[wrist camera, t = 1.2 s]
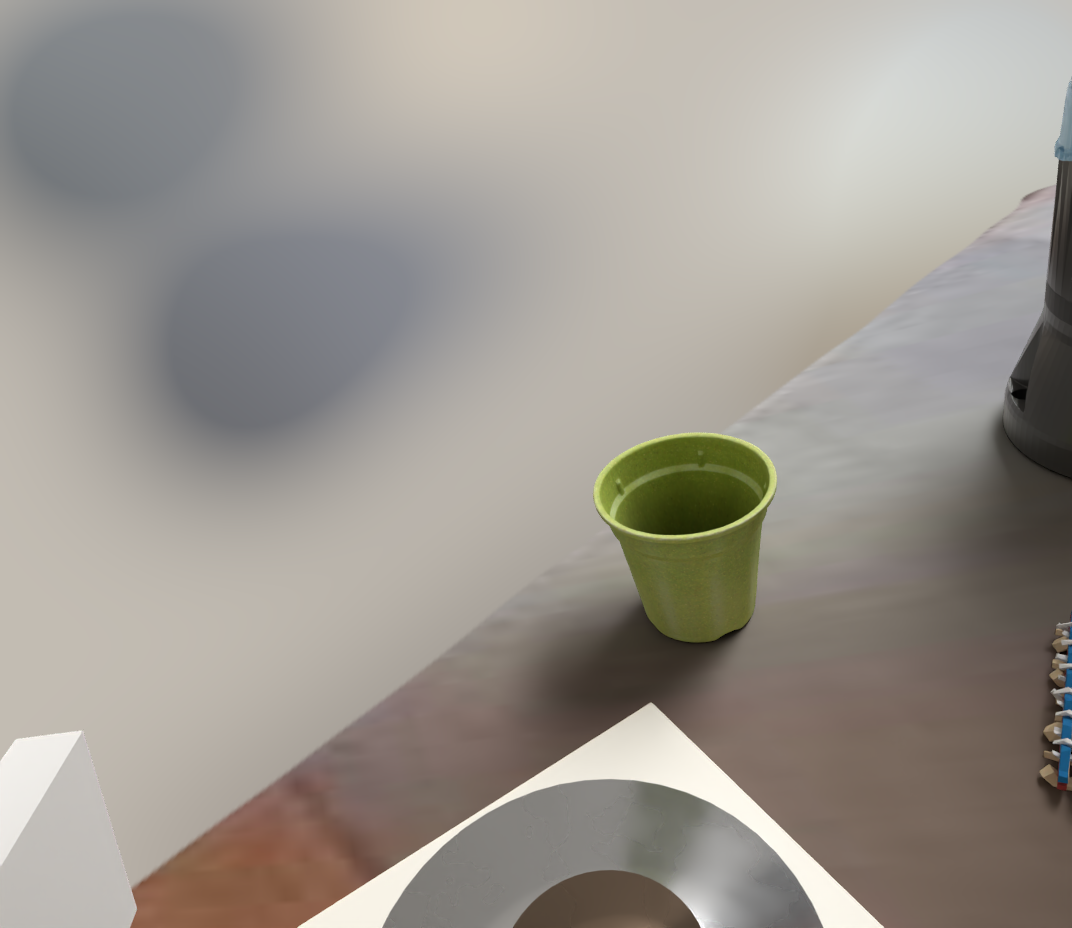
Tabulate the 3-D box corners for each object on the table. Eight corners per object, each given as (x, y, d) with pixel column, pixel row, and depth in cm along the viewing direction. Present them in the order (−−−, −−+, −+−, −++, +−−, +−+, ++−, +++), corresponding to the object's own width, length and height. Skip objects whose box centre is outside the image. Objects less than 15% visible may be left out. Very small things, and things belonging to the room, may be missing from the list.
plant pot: (797, 558, 52) (787, 432, 48) (775, 677, 45) (761, 542, 40) (642, 549, 56) (620, 431, 51) (599, 658, 49) (569, 532, 44)
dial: (327, 902, 37) (214, 703, 31) (687, 735, 40) (650, 526, 34) (423, 1456, 23) (249, 1297, 17) (965, 1132, 26) (987, 897, 20)
